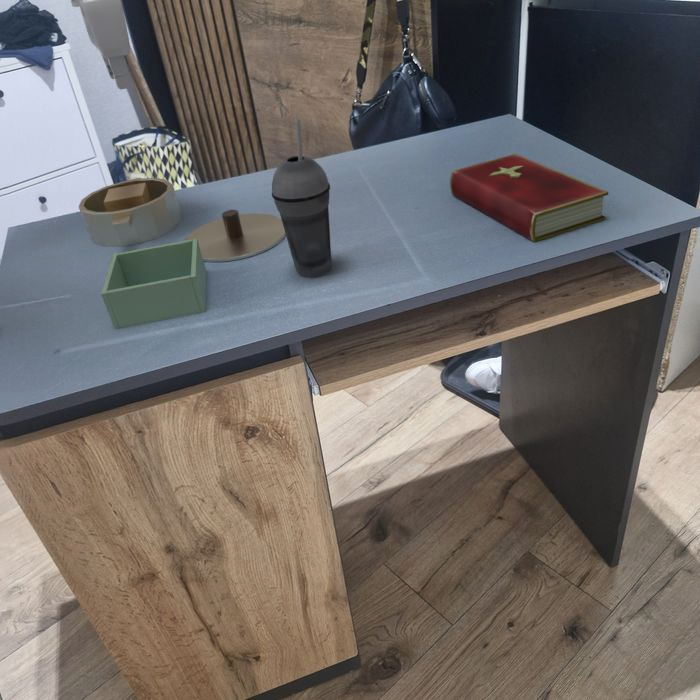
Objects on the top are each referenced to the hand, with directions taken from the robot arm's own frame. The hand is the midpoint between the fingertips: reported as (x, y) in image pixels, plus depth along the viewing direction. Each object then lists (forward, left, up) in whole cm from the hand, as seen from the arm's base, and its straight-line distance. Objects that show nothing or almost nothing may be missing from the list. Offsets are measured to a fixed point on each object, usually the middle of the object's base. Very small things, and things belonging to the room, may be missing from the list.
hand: (120, 82), depth 94 cm
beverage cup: (+22, -28, -22) cm, 42 cm away
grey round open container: (-4, -1, -22) cm, 22 cm away
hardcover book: (+54, -20, -22) cm, 62 cm away
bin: (+2, -28, -22) cm, 36 cm away
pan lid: (+12, -13, -21) cm, 28 cm away
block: (-4, -1, -22) cm, 22 cm away
